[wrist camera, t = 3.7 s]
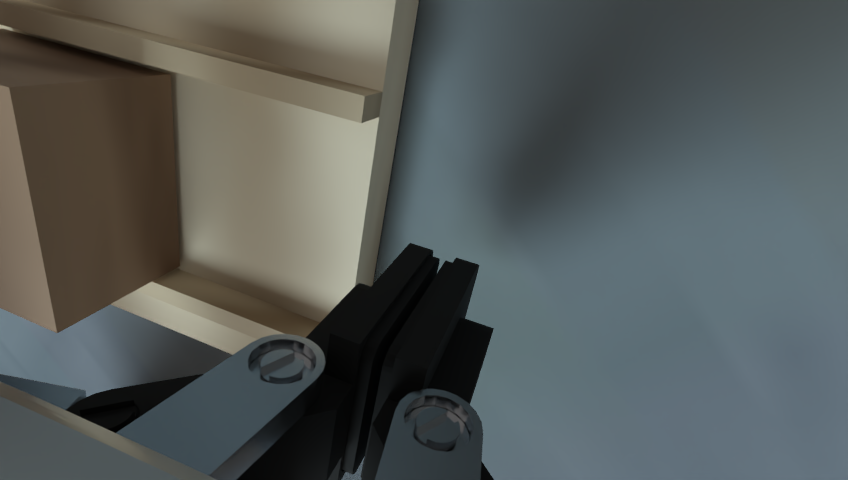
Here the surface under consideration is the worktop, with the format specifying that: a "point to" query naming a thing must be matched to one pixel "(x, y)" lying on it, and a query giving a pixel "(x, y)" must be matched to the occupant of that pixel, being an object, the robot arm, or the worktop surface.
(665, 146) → the worktop surface
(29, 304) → the walnut slider
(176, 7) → the birch rail board
